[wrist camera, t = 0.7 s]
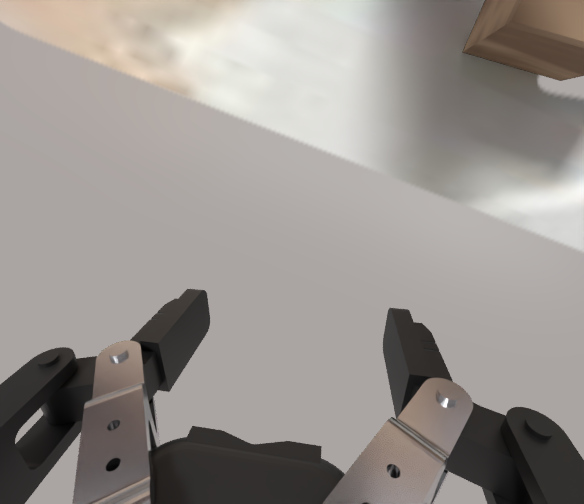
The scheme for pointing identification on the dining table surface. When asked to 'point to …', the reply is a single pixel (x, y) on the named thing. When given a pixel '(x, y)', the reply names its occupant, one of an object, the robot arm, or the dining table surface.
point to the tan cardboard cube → (531, 36)
